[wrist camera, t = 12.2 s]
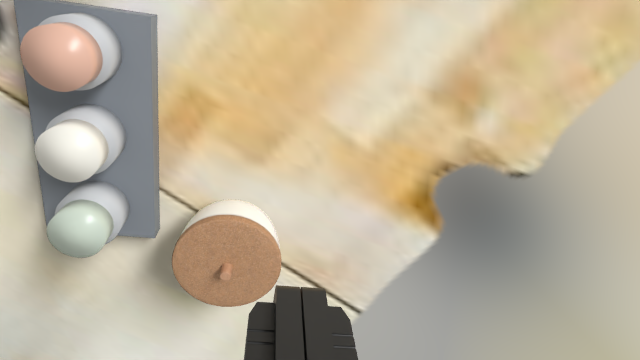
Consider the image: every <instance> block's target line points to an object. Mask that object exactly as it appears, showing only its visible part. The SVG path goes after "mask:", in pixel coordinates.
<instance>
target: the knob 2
mask: <svg viewBox="0 0 640 360" xmlns="http://www.w3.org/2000/svg"><path fill="white" fill-rule="evenodd" d="M113 229H114V222H113V218H112V216H111V214H110V213H109V212H108V211H107V210H106V209H105V208H104V207H103V206H102V205H100V204H98V203H96V202H93V201H90V200H83V199H80V200H74V201H71V202H69V203H67V204H66V205H65V206H64V207H63V208H62V209H61V210H60V211H59V212H58V213H57V214H56V215H55V216H54V217H53V218H52V219H51V220H50V221H49V223H48V226H47V236H48V239H49V241H50V242H51V244H52V245H53V246H54V247H55V248H56V249H57V250H59V251H60V252H62V253H63V254H66V255H68V256H71V257H77V258H84V257H90V256H93V255H95V254H96V253H98V252H99V251H100V250H101V249H102V247H103V246H104V244H105V243H106V241H107V240H108V238H109V237H110V235H111V234H112V232H113Z"/></svg>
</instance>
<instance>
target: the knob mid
mask: <svg viewBox="0 0 640 360" xmlns="http://www.w3.org/2000/svg"><path fill="white" fill-rule="evenodd" d="M108 154H109V147H108V143H107V140H106V138H105V136H104V135H103V133H102V132H101V131H100V130H99V129H98V128H97V127H95V126H94V125H92V124H91V123H89V122H86V121H83V120H79V119H67V120H63V121H61V122H59V123H57V124H56V125H54V126H53V127H51V128H49V129H48V130H46V131H45V132H43V133H42V134H41V135H40V136H39V137H38V139H37V141H36V144H35V155H36V158H37V161H38V163H39V164H40V166H41V167H42V168H43V169H44V170H45V171H46V172H47V173H48V174H49V175H51V176H53V177H54V178H56V179H59V180H61V181H65V182H81V181H84V180H87V179H88V178H90V177H91V176H92V175H93V174H94V173H95V172H96V171H97V170H98V169H99V168H100V167H101V166H102V165H103V164H104V163H105V161H106V160H107V158H108Z"/></svg>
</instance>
